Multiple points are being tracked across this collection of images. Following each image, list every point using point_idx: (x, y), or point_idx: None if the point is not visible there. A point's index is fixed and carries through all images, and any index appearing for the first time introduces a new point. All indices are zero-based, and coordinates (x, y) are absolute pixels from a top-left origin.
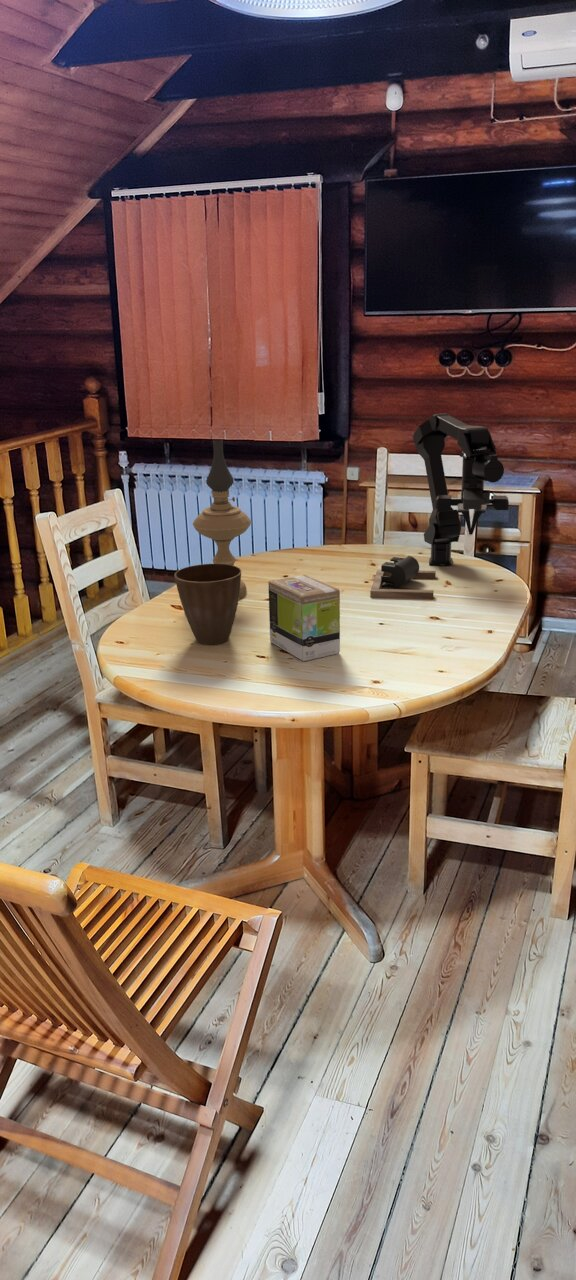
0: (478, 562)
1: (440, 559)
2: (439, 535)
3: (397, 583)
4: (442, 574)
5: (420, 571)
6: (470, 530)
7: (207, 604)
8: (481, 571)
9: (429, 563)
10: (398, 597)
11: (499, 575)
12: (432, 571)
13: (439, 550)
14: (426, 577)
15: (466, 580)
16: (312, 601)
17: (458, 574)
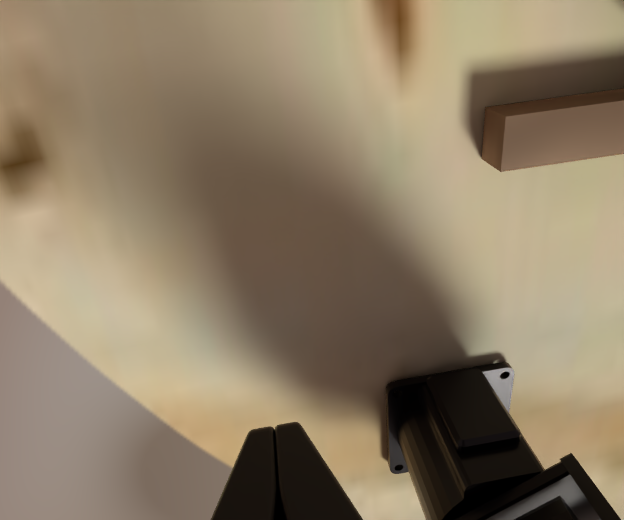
0: None
1: (463, 389)
2: (572, 518)
3: None
4: (435, 216)
5: (611, 130)
6: (286, 475)
7: None
8: (199, 331)
9: (511, 368)
10: None
11: (60, 281)
12: (525, 148)
13: (497, 433)
14: (549, 99)
15: (260, 110)
16: None
17: (333, 239)
